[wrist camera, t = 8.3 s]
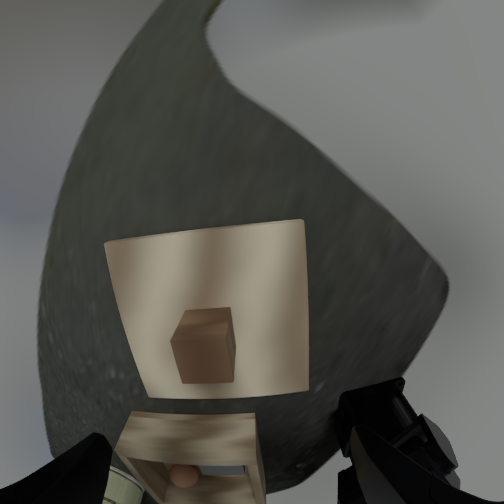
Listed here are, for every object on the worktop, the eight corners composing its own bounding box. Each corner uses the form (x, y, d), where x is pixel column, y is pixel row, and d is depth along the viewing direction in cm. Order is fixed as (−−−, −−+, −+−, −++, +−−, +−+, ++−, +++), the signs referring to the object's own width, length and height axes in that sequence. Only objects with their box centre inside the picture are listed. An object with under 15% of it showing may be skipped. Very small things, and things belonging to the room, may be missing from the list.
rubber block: (240, 429, 21) (239, 454, 18) (245, 452, 22) (245, 474, 19) (197, 430, 21) (192, 454, 18) (206, 452, 22) (202, 474, 19)
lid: (298, 217, 18) (321, 230, 12) (304, 376, 21) (318, 426, 15) (115, 238, 18) (70, 257, 12) (154, 384, 21) (135, 430, 15)
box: (254, 412, 21) (256, 459, 16) (264, 473, 24) (266, 509, 18) (132, 410, 21) (114, 449, 16) (167, 471, 24) (159, 504, 18)
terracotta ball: (195, 458, 22) (192, 481, 19) (202, 472, 23) (199, 493, 20) (167, 456, 22) (162, 478, 19) (176, 470, 23) (171, 490, 20)
